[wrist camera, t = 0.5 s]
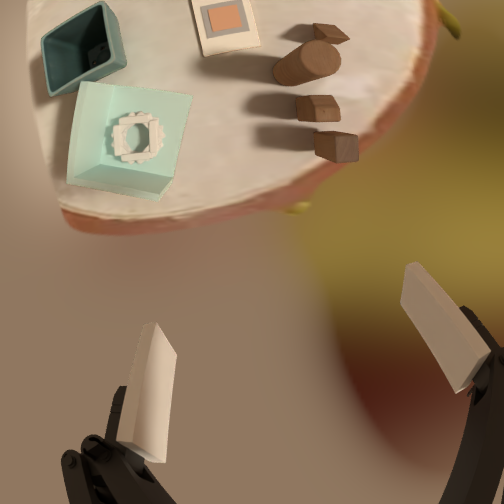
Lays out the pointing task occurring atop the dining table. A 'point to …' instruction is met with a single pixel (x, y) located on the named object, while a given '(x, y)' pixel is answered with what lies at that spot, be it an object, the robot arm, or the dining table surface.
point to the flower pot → (82, 49)
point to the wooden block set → (319, 106)
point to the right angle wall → (126, 139)
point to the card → (225, 25)
